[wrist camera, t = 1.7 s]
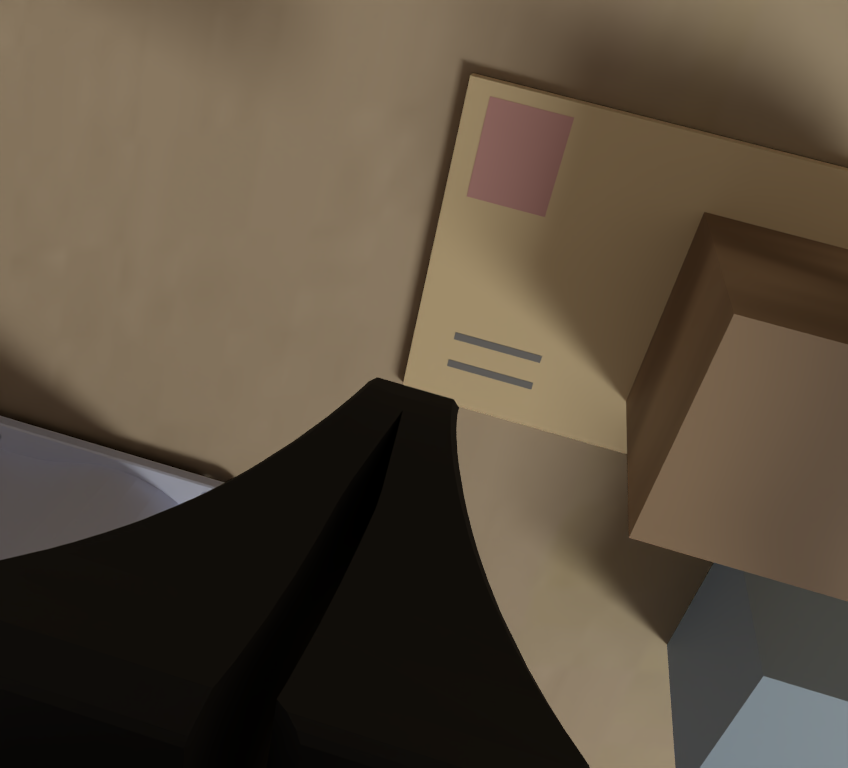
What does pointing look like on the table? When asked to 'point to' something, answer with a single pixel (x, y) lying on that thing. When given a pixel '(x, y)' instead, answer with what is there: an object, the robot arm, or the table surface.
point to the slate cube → (759, 676)
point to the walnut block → (747, 409)
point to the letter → (582, 249)
